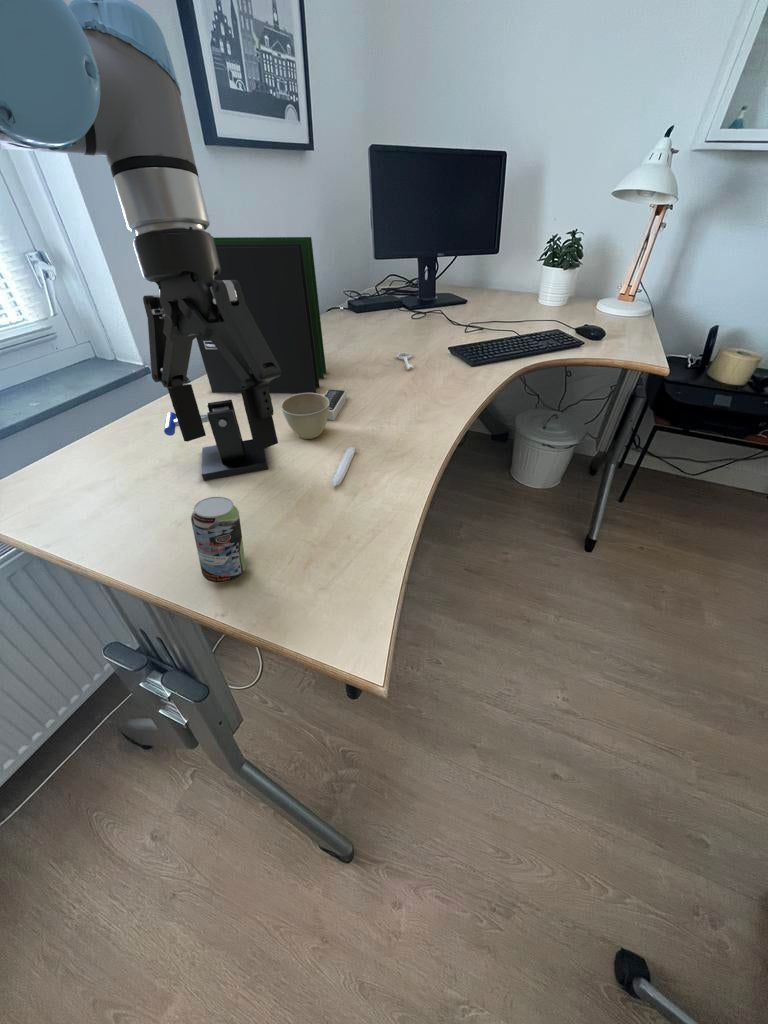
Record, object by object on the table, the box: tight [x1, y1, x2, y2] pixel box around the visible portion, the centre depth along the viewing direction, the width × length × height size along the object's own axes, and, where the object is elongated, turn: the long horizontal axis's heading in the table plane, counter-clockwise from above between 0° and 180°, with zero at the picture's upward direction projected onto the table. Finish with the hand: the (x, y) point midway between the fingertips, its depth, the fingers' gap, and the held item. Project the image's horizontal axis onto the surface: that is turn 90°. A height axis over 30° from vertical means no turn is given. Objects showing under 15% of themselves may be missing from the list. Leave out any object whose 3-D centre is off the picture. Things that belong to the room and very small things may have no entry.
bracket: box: [201, 399, 269, 482], centre depth 83 cm, size 12×10×12 cm
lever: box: [163, 406, 229, 437], centre depth 79 cm, size 11×6×2 cm, turn 107°
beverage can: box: [190, 496, 247, 584], centre depth 60 cm, size 6×7×12 cm
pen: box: [332, 446, 356, 487], centre depth 83 cm, size 2×14×2 cm, turn 169°
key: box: [396, 351, 414, 371], centre depth 124 cm, size 12×1×4 cm
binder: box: [195, 236, 327, 394], centre depth 105 cm, size 27×15×32 cm, turn 84°
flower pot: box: [280, 392, 330, 440], centre depth 92 cm, size 10×10×7 cm
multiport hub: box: [324, 389, 347, 421], centre depth 102 cm, size 4×11×2 cm, turn 169°
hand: (228, 442), depth 52 cm, fingers open, 13 cm apart
